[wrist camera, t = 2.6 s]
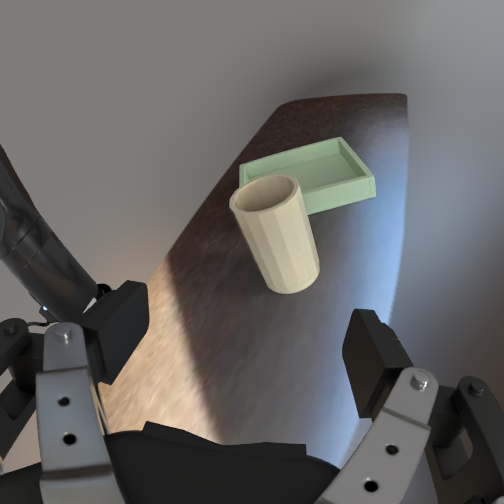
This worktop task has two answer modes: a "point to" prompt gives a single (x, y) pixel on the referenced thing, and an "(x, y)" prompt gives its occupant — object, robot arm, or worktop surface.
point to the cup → (277, 231)
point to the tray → (319, 173)
